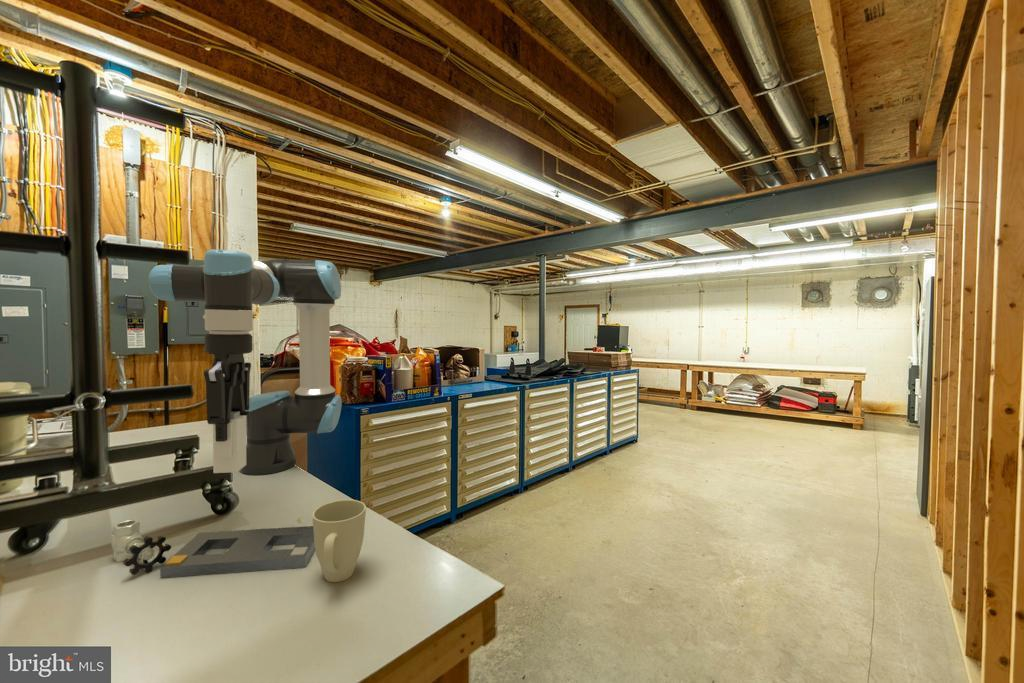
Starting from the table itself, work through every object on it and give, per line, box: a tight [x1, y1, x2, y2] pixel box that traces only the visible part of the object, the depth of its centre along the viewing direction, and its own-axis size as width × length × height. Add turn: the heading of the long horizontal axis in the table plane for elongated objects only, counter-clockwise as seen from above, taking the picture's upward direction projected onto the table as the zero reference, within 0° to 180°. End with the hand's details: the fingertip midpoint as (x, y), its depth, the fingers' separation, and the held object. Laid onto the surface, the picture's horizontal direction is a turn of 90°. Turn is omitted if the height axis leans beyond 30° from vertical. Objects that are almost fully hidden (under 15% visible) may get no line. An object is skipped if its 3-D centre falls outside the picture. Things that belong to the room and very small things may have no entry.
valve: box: [111, 518, 172, 576], centre depth 76 cm, size 7×7×12 cm
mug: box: [312, 499, 367, 583], centre depth 73 cm, size 11×10×12 cm
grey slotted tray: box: [159, 525, 316, 579], centre depth 80 cm, size 12×24×2 cm, turn 100°
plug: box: [212, 411, 247, 474], centre depth 79 cm, size 4×4×11 cm
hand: (230, 452), depth 79 cm, fingers closed on plug, 4 cm apart
